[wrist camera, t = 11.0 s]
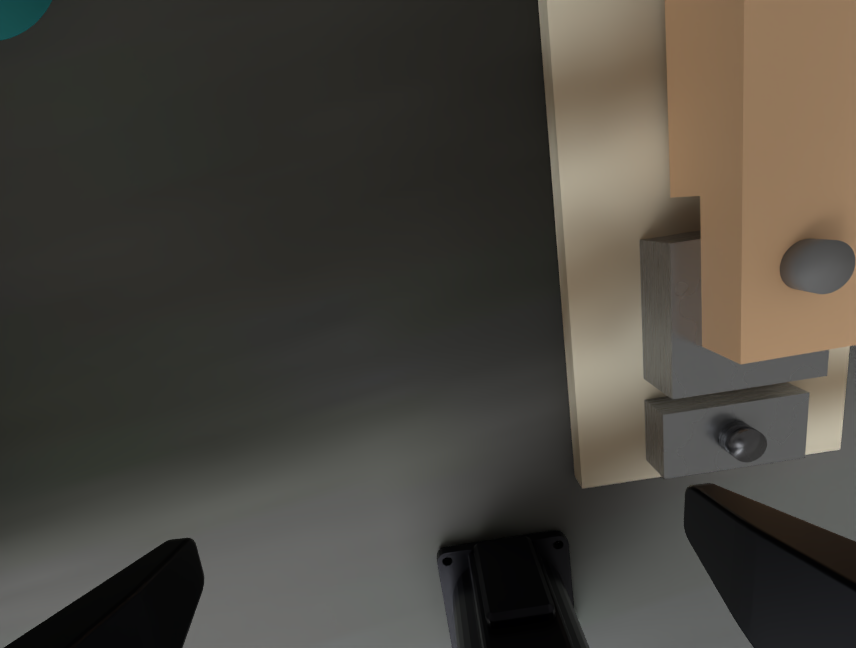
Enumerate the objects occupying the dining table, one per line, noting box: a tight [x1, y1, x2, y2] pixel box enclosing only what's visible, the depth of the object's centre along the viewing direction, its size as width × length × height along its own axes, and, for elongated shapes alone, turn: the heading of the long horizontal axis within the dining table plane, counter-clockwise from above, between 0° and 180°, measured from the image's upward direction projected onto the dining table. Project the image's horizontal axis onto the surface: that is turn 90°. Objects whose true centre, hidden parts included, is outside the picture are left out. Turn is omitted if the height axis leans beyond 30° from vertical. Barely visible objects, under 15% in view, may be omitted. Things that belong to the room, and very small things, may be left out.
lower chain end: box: [639, 230, 829, 479], centre depth 18 cm, size 10×6×2 cm, turn 9°
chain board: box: [538, 0, 850, 489], centre depth 17 cm, size 32×12×1 cm, turn 9°
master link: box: [665, 0, 856, 364], centre depth 14 cm, size 18×4×5 cm, turn 10°
